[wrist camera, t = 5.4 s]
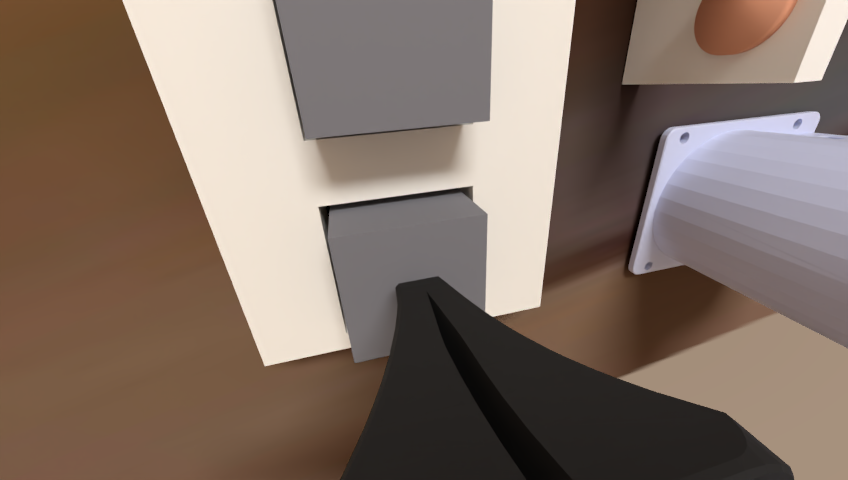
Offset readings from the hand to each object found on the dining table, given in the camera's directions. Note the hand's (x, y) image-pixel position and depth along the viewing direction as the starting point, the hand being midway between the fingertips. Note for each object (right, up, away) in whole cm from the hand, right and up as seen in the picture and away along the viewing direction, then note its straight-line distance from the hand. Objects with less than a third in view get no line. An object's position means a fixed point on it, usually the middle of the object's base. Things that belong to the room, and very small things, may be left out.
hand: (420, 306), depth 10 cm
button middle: (-1, +8, 0) cm, 8 cm away
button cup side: (-1, +2, +3) cm, 4 cm away
